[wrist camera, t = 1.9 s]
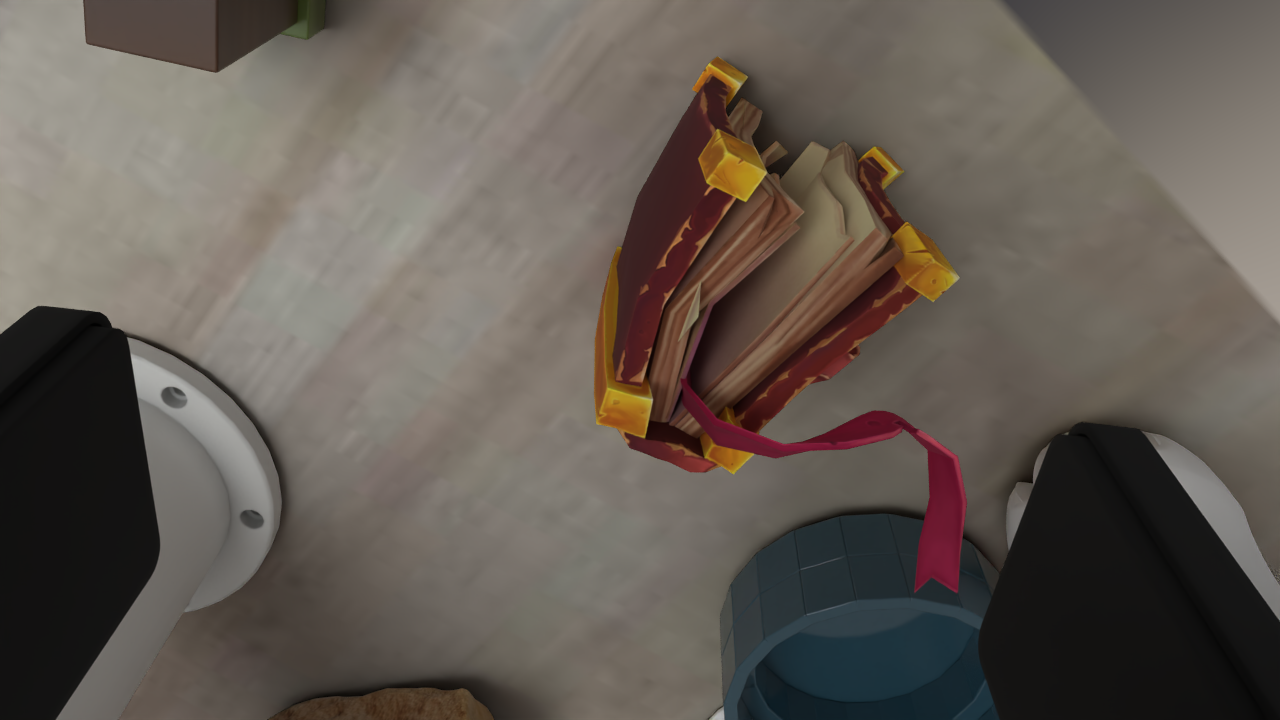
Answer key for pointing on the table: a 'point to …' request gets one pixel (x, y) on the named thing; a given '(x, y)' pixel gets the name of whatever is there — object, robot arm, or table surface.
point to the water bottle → (1207, 498)
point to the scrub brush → (198, 27)
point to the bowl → (854, 628)
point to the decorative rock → (391, 706)
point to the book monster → (761, 301)
